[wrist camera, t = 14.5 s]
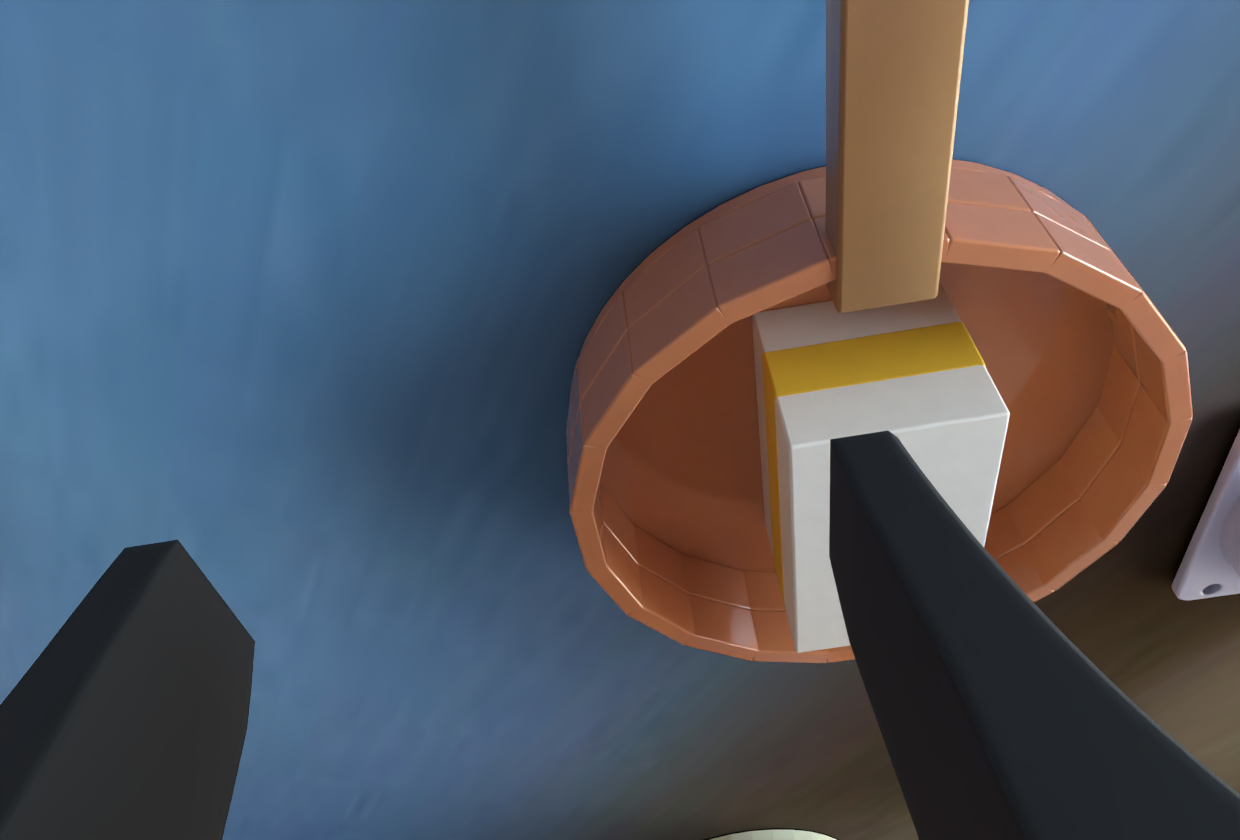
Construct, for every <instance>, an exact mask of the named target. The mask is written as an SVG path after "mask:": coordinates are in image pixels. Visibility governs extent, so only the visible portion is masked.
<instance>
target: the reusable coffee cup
mask: <svg viewBox="0 0 1240 840" xmlns="http://www.w3.org/2000/svg"><path fill="white" fill-rule="evenodd" d="M710 840H836V839H834V838H831V837H829V836H826V835H823V834H818V833H814V832H809V831H799V830H759V831H749V832H742V833H736V834H730V835H726V836H722V837H718V838H713V839H710Z"/></svg>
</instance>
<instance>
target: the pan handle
mask: <svg viewBox="0 0 1240 840" xmlns="http://www.w3.org/2000/svg"><path fill="white" fill-rule="evenodd" d="M968 5H969V0H827V2H826V234H827V236H828V238H829V241H830V243H831V246H832V248H833V251H834V253H835V255H836V280H833V281H831V282H829V283H826V285H827V288H828V290H829V293H830V295H831V298H832V301H833V303H834V306H835V308H836V310H837V312H838V313H849V312H855V311H861V310H867V309H874V308H880V307H886V306H892V305H898V304H905V303H911V302H917V301H923V300H930V299H934V298H936V297H937V295H938V287H939V278H940V268H941V259H942V249H943V240H944V231H945V221H946V212H947V202H948V193H949V184H950V174H951V165H952V155H953V146H954V137H955V127H956V118H957V108H958V99H959V90H960V80H961V71H962V61H963V52H964V43H965V33H966V24H967V15H968Z"/></svg>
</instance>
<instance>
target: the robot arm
mask: <svg viewBox="0 0 1240 840" xmlns="http://www.w3.org/2000/svg"><path fill="white" fill-rule="evenodd" d="M829 558H830V562H831V566H832V571H833V575H834V579H835V584H836V588H837V592H838V597H839V601H840V605H841V609H842V613H843V617H844V622H845V626H846V630H847V634H848V638H849V642H850V645H851V648H852V651H853V654H854V657H855V659H856V662H857V665H858V668H859V671H860V674H861V677H862V679H863V682H864V685H865V688H866V691H867V694H868V696H869V699H870V702H871V705H872V708H873V711H874V713H875V716H876V719H877V722H878V725H879V727H880V730H881V733H882V736H883V739H884V741H885V744H886V747H887V750H888V753H889V755H890V758H891V761H892V764H893V767H894V769H895V772H896V775H897V778H898V781H899V783H900V786H901V789H902V792H903V795H904V798H905V800H906V803H907V806H908V809H909V812H910V814H911V817H912V820H913V823H914V826H915V828H916V831H917V834H918V837H919V840H1240V795H1239V794H1238V793H1237V792H1235V791H1234V790H1233V789H1232V788H1231V787H1230V786H1228V785H1227V784H1226V783H1225V782H1224V781H1222V780H1221V779H1220V778H1219V777H1218V776H1216V775H1215V774H1214V773H1213V772H1212V771H1211V770H1209V769H1208V768H1207V767H1206V766H1205V765H1203V764H1202V763H1201V762H1200V761H1199V760H1197V759H1196V758H1195V757H1194V756H1193V755H1192V754H1190V753H1189V752H1188V751H1187V750H1186V749H1185V748H1184V747H1183V746H1181V745H1180V744H1179V743H1178V742H1177V741H1176V740H1175V739H1174V738H1172V737H1171V736H1170V735H1169V734H1168V733H1167V732H1166V731H1165V730H1163V729H1162V728H1161V727H1160V726H1159V725H1158V724H1157V723H1156V722H1154V721H1153V720H1152V719H1151V718H1150V717H1149V716H1148V715H1147V714H1145V713H1144V712H1143V711H1142V710H1141V709H1140V708H1139V707H1138V706H1137V705H1136V704H1135V703H1134V702H1133V701H1131V700H1130V699H1129V698H1128V697H1127V696H1126V695H1125V694H1124V693H1123V692H1122V691H1121V690H1120V689H1119V688H1118V687H1117V686H1116V685H1115V684H1114V683H1112V682H1111V681H1110V680H1109V679H1108V678H1107V677H1106V676H1105V675H1104V674H1103V673H1102V672H1101V671H1100V670H1099V669H1098V668H1097V667H1096V666H1095V665H1094V664H1093V663H1092V662H1091V661H1090V660H1089V659H1088V658H1087V657H1086V656H1085V655H1084V654H1083V653H1082V652H1081V651H1080V650H1079V649H1078V648H1077V647H1076V646H1075V645H1074V644H1073V643H1072V642H1071V641H1070V640H1069V639H1068V638H1067V637H1066V636H1065V635H1064V634H1063V633H1062V632H1061V631H1060V630H1059V629H1058V628H1057V627H1056V626H1055V625H1054V624H1053V623H1052V622H1051V621H1050V620H1049V618H1048V617H1047V616H1046V615H1045V614H1044V613H1043V612H1042V611H1041V610H1040V609H1039V608H1038V607H1037V606H1036V605H1035V604H1034V603H1033V602H1032V601H1031V599H1030V598H1029V597H1028V596H1027V595H1026V594H1025V593H1024V592H1023V591H1022V589H1021V588H1020V587H1019V586H1018V585H1017V584H1016V583H1015V582H1014V581H1013V579H1012V578H1011V577H1010V576H1009V575H1008V574H1007V573H1006V572H1005V571H1004V569H1003V568H1002V567H1001V566H1000V565H999V564H998V563H997V562H996V561H995V559H994V558H993V557H992V556H991V555H990V554H989V553H988V552H987V550H986V549H985V548H984V547H983V546H982V545H981V543H980V542H979V541H978V540H977V539H976V538H975V536H974V535H973V534H972V533H971V532H970V531H969V529H968V528H967V527H966V526H965V524H964V523H963V522H962V521H961V520H960V518H959V517H958V516H957V515H956V513H955V512H954V511H953V510H952V509H951V507H950V506H949V505H948V504H947V502H946V501H945V500H944V499H943V497H942V496H941V495H940V494H939V492H938V491H937V490H936V488H935V487H934V486H933V485H932V483H931V482H930V481H929V479H928V478H927V477H926V475H925V474H924V473H923V472H922V470H921V469H920V468H919V466H918V465H917V463H916V462H915V461H914V459H913V458H912V457H911V455H910V454H909V453H908V451H907V450H906V448H905V447H904V445H903V444H902V443H901V441H900V440H899V438H898V437H897V436H895V435H894V434H892V433H891V432H889V431H881V432H875V433H868V434H862V435H855V436H849V437H842V438H836V439H830V526H829ZM1172 590H1173V591H1174V593H1175V595H1176V596H1177V598H1178V599H1181V600H1185V601H1186V600H1196V599H1203V598H1210V597H1217V596H1224V595H1231V594H1238V593H1240V429H1239V432H1238V434H1237V436H1236V438H1235V441H1234V443H1233V445H1232V448H1231V450H1230V452H1229V455H1228V457H1227V459H1226V461H1225V464H1224V466H1223V468H1222V471H1221V473H1220V475H1219V477H1218V480H1217V482H1216V484H1215V487H1214V489H1213V491H1212V494H1211V496H1210V498H1209V500H1208V503H1207V505H1206V507H1205V510H1204V512H1203V514H1202V516H1201V519H1200V521H1199V523H1198V526H1197V528H1196V530H1195V533H1194V535H1193V537H1192V539H1191V542H1190V544H1189V546H1188V549H1187V551H1186V553H1185V555H1184V558H1183V560H1182V562H1181V565H1180V567H1179V569H1178V572H1177V574H1176V576H1175V578H1174V581H1173V583H1172ZM254 645H255V641H254V640H253V638H252V637H251V636H250V634H249V633H248V632H247V630H246V629H245V628H244V627H243V625H242V624H241V623H240V621H239V620H238V619H237V617H236V616H235V615H234V613H233V612H232V611H231V609H230V608H229V607H228V605H227V604H226V603H225V601H224V600H223V599H222V597H221V596H220V595H219V594H218V592H217V591H216V590H215V588H214V587H213V586H212V584H211V583H210V582H209V580H208V579H207V578H206V576H205V575H204V574H203V572H202V571H201V570H200V568H199V567H198V566H197V565H196V563H195V562H194V561H193V559H192V558H191V557H190V555H189V554H188V553H187V551H186V550H185V549H184V547H183V546H182V545H181V543H180V542H179V541H178V540H174V541H167V542H161V543H154V544H148V545H141V546H135V547H128V548H125V549H124V550H123V551H122V552H121V553H120V555H119V556H118V557H117V558H116V559H115V561H114V562H113V563H112V564H111V565H110V567H109V568H108V569H107V570H106V572H105V573H104V574H103V575H102V577H101V578H100V579H99V580H98V582H97V583H96V584H95V585H94V587H93V588H92V589H91V590H90V592H89V593H88V594H87V596H86V597H85V598H84V599H83V601H82V602H81V603H80V604H79V606H78V607H77V608H76V610H75V611H74V612H73V613H72V615H71V616H70V617H69V619H68V620H67V621H66V623H65V624H64V625H63V626H62V628H61V629H60V630H59V632H58V633H57V634H56V635H55V637H54V638H53V639H52V641H51V642H50V643H49V644H48V646H47V647H46V648H45V650H44V651H43V652H42V653H41V655H40V656H39V657H38V659H37V660H36V661H35V662H34V664H33V665H32V666H31V667H30V669H29V670H28V671H27V672H26V674H25V675H24V676H23V677H22V679H21V680H20V681H19V682H18V684H17V685H16V686H15V688H14V689H13V690H12V691H11V693H10V694H9V695H8V696H7V698H6V699H5V700H4V701H3V703H2V704H1V705H0V840H222V837H223V833H224V829H225V824H226V820H227V816H228V812H229V807H230V803H231V799H232V794H233V790H234V785H235V781H236V776H237V772H238V767H239V763H240V758H241V754H242V749H243V745H244V740H245V735H246V730H247V723H248V714H249V705H250V696H251V685H252V672H253V658H254Z"/></svg>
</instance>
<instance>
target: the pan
mask: <svg viewBox="0 0 1240 840" xmlns="http://www.w3.org/2000/svg"><path fill="white" fill-rule="evenodd" d="M833 280H836V255H835V253H834V251H833V248H832V246H831V243H830V241H829V238H828V236H827V234H826V166H824V167H819V168H815V169H810V170H806V171H802V172H799V173H796V174H793V175H790V176H787V177H785V178H782V179H779V180H776V181H773V182H770V183H767V184H764V185H762V186H759V187H757V188H755V189H753V190H751V191H748V192H746V193H744V194H742V195H740V196H738V197H736V198H734V199H732V200H729V201H727V202H725V203H723V204H721V205H719V206H717V207H716V208H714V209H713V210H711V211H709V212H708V213H706V214H705V215H703V216H701V217H700V218H698V219H696V220H695V221H693V222H692V223H690V224H688V225H687V226H685V227H683V228H682V229H681V230H680V231H678V232H677V233H676V234H675V235H673V236H672V237H671V238H669V239H668V240H667V241H666V242H664V243H663V244H662V245H661V246H659V247H658V248H657V249H656V250H654V251H653V252H652V253H651V254H650V255H649V256H648V257H647V258H646V259H645V260H644V261H643V262H642V263H641V264H640V265H639V266H638V267H637V268H636V269H635V270H634V271H633V272H632V273H631V274H630V275H629V276H628V277H627V278H626V279H625V280H624V281H623V282H622V284H621V285H620V286H619V288H618V289H617V290H616V291H615V293H614V294H613V295H612V297H611V298H610V299H609V301H608V302H607V303H606V305H605V306H604V307H603V309H602V310H601V312H600V314H599V315H598V317H597V319H596V321H595V323H594V324H593V326H592V328H591V330H590V332H589V333H588V335H587V337H586V339H585V341H584V344H583V347H582V349H581V352H580V355H579V357H578V360H577V363H576V365H575V369H574V374H573V379H572V384H571V389H570V394H569V413H568V419H567V425H566V440H567V463H568V486H569V509H570V516H571V519H572V523H573V526H574V530H575V533H576V537H577V540H578V544H579V547H580V551H581V554H582V558H583V561H584V565H585V568H586V569H587V571H588V573H589V574H590V575H591V576H592V577H593V578H594V579H595V580H596V581H597V583H598V584H599V585H600V586H601V587H602V588H603V589H604V590H605V591H606V593H607V594H608V595H609V596H610V597H611V598H612V599H613V600H614V602H615V603H616V604H617V605H618V606H619V607H620V608H621V609H622V610H623V612H624V613H625V614H627V615H628V616H629V617H631V618H633V619H635V620H637V621H639V622H641V623H643V624H644V625H646V626H648V627H650V628H652V629H654V630H656V631H658V632H659V633H661V634H663V635H665V636H667V637H669V638H671V639H673V640H674V641H676V642H678V643H680V644H684V645H685V646H689V647H693V648H698V649H702V650H706V651H710V652H715V653H719V654H723V655H727V656H732V657H736V658H740V659H744V660H749V661H750V660H752V661H765V662H799V663H826V662H827V663H832V662H839V661H846V660H853V659H855V657H854V654H853V651H852V648H851V645H850V646H843V647H836V648H829V649H822V650H815V651H808V652H801V653H797V652H796V651H795V648H794V643H793V639H792V635H791V631H790V626H789V622H788V618H787V614H786V609H785V605H784V604H783V600H782V596H781V592H780V587H779V583H778V579H777V575H776V570H775V566H774V559H773V554H772V550H771V545H770V541H769V537H768V533H767V528H766V524H765V514H764V499H763V483H762V468H761V453H760V437H759V422H758V406H757V391H756V376H755V360H754V345H753V329H752V315H753V314H755V313H758V312H763V311H769V310H775V309H782V308H788V307H794V306H800V305H806V304H813V303H819V302H825V301H831V300H832V298H831V295H830V293H829V290H828V288H827V285H826V283H829V282H831V281H833ZM939 283H941V284H942V286H943V288H944V290H945V291H946V293H947V295H948V297H949V299H950V301H951V303H952V305H953V307H954V308H955V310H956V312H957V314H958V316H959V318H960V320H961V322H963V323H964V325H965V327H966V329H967V331H968V332H969V334H970V336H971V338H972V340H973V342H974V344H975V346H976V348H977V349H978V351H979V353H980V355H981V357H982V359H983V361H984V363H985V365H986V369H987V371H988V373H989V375H990V376H991V378H992V380H993V382H994V384H995V386H996V388H997V390H998V392H999V393H1000V395H1001V397H1002V399H1003V401H1004V403H1005V405H1006V407H1007V409H1008V410H1009V412H1010V417H1009V422H1008V427H1007V432H1006V437H1005V442H1004V448H1003V453H1002V458H1001V463H1000V468H999V473H998V479H997V484H996V489H995V494H994V499H993V504H992V510H991V515H990V520H989V525H988V530H987V535H986V541H985V546H984V548H985V549H986V550H987V552H988V553H989V554H990V555H991V556H992V557H993V558H994V559H995V561H996V562H997V563H998V564H999V565H1000V566H1001V567H1002V568H1003V569H1004V571H1005V572H1006V573H1007V574H1008V575H1009V576H1010V577H1011V578H1012V579H1013V581H1014V582H1015V583H1016V584H1017V585H1018V586H1019V587H1020V588H1021V589H1022V591H1023V592H1024V593H1025V594H1026V595H1027V596H1028V597H1029V598H1030V599H1031V601H1032V602H1035V601H1037V600H1039V599H1041V598H1043V597H1045V596H1047V595H1049V594H1051V593H1053V592H1054V591H1056V590H1058V589H1059V588H1060V587H1062V586H1063V585H1064V584H1066V583H1067V582H1068V581H1070V580H1071V579H1072V578H1074V577H1075V576H1076V575H1078V574H1079V573H1080V572H1082V571H1083V570H1084V569H1085V568H1087V567H1088V566H1089V565H1091V564H1092V563H1093V562H1095V561H1096V560H1097V559H1099V558H1100V557H1101V556H1103V555H1104V554H1105V553H1107V552H1108V551H1109V550H1111V549H1112V548H1113V547H1114V546H1116V545H1117V544H1118V542H1120V541H1121V540H1122V539H1123V538H1124V537H1125V535H1126V534H1127V533H1128V532H1129V530H1130V529H1131V528H1132V527H1133V526H1134V524H1135V523H1136V522H1137V521H1138V520H1139V518H1140V517H1141V516H1142V515H1143V513H1144V512H1145V511H1146V510H1147V509H1148V507H1149V506H1150V505H1151V504H1152V503H1153V501H1154V500H1155V499H1156V498H1157V496H1158V495H1159V494H1160V493H1161V492H1162V490H1163V489H1164V488H1165V487H1166V485H1167V483H1168V482H1169V480H1170V477H1171V474H1172V472H1173V469H1174V466H1175V464H1176V461H1177V459H1178V456H1179V453H1180V451H1181V448H1182V446H1183V443H1184V440H1185V438H1186V435H1187V433H1188V430H1189V427H1190V425H1191V422H1192V417H1193V412H1192V401H1191V390H1190V379H1189V368H1188V357H1187V351H1186V348H1185V346H1184V345H1183V343H1182V342H1181V341H1180V339H1179V338H1178V336H1177V335H1176V334H1175V332H1174V331H1173V330H1172V328H1171V327H1170V326H1169V324H1168V323H1167V322H1166V320H1165V319H1164V318H1163V316H1162V315H1161V313H1160V312H1159V311H1158V309H1157V308H1156V307H1155V305H1154V304H1153V303H1152V301H1151V300H1150V299H1149V297H1148V296H1147V295H1146V293H1145V292H1144V291H1143V289H1142V288H1141V287H1140V285H1139V284H1138V283H1137V282H1136V280H1135V279H1134V278H1133V276H1132V275H1131V274H1130V273H1129V271H1128V270H1127V269H1126V267H1125V266H1124V265H1123V264H1122V262H1121V261H1120V260H1119V258H1118V257H1117V256H1116V255H1115V253H1114V252H1113V251H1112V249H1111V248H1110V247H1109V246H1108V244H1107V243H1106V242H1105V240H1104V239H1103V238H1102V237H1101V235H1100V234H1099V233H1098V232H1097V230H1096V229H1095V228H1094V226H1093V225H1092V224H1091V223H1090V221H1089V220H1088V219H1087V217H1085V216H1084V215H1083V214H1081V213H1079V212H1078V211H1076V210H1075V209H1074V208H1073V207H1072V206H1070V205H1069V204H1068V203H1066V202H1065V201H1063V200H1062V199H1060V198H1059V197H1057V196H1056V195H1055V194H1053V193H1052V192H1050V191H1049V190H1047V189H1046V188H1044V187H1042V186H1040V185H1037V184H1035V183H1033V182H1031V181H1029V180H1027V179H1024V178H1022V177H1020V176H1018V175H1016V174H1014V173H1010V172H1007V171H1003V170H1000V169H996V168H993V167H989V166H986V165H982V164H979V163H975V162H969V161H961V160H954V159H952V165H951V174H950V184H949V193H948V202H947V212H946V221H945V231H944V240H943V249H942V259H941V268H940V278H939Z"/></svg>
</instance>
